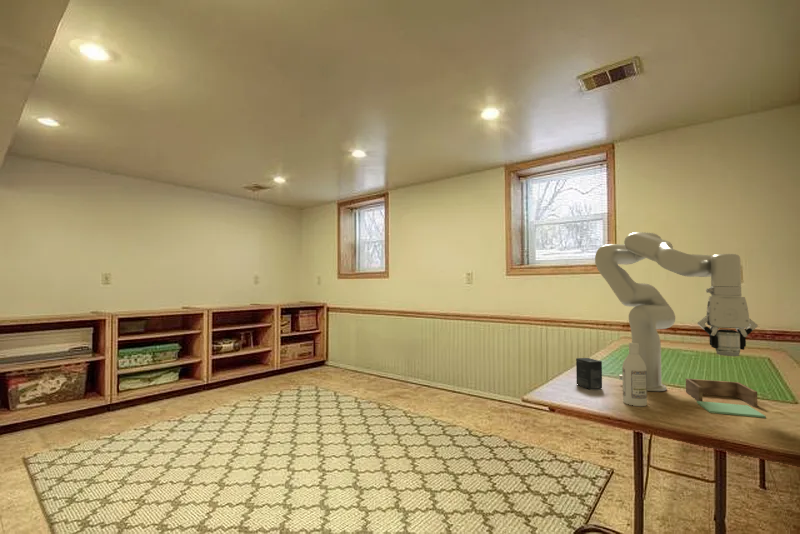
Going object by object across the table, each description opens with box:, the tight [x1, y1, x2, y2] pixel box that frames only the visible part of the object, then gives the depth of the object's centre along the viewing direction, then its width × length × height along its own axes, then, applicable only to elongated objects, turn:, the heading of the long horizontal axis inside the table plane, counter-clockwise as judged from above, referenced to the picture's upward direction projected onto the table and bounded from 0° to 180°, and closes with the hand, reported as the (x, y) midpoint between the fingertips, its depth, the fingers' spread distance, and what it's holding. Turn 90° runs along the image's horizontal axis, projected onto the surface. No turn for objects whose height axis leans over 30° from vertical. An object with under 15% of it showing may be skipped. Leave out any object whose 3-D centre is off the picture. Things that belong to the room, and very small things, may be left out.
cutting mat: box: [696, 400, 767, 419], centre depth 128 cm, size 14×11×1 cm
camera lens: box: [714, 328, 741, 357], centre depth 128 cm, size 6×6×8 cm
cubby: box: [685, 378, 758, 408], centre depth 139 cm, size 16×13×5 cm
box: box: [575, 357, 603, 390], centre depth 155 cm, size 8×6×11 cm
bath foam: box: [621, 342, 648, 407], centre depth 134 cm, size 7×7×20 cm
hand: (727, 347), depth 128 cm, fingers closed on camera lens, 6 cm apart
